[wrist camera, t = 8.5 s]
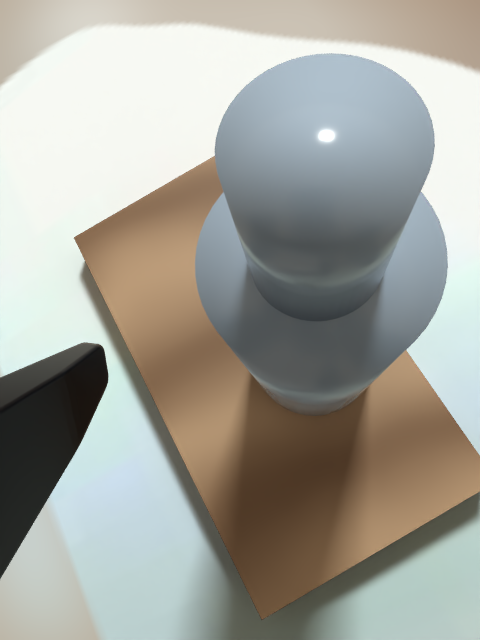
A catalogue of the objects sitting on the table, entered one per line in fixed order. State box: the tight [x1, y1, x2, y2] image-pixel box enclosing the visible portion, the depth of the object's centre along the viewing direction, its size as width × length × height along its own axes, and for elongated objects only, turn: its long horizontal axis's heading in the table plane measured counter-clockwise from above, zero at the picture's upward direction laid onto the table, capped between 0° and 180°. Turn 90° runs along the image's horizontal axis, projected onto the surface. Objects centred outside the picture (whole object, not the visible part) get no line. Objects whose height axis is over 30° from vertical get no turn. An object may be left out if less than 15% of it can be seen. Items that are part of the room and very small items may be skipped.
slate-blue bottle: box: [195, 54, 448, 416], centre depth 12 cm, size 5×5×14 cm
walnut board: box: [74, 156, 480, 620], centre depth 20 cm, size 18×10×2 cm, turn 29°
